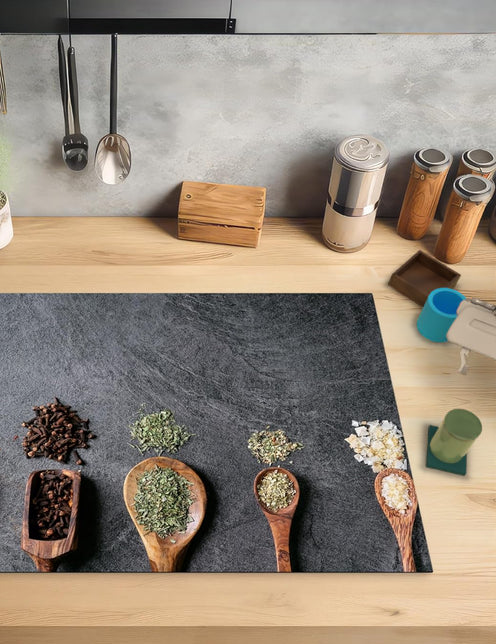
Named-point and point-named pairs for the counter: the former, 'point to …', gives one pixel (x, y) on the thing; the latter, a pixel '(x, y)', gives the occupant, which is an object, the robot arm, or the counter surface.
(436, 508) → the counter surface
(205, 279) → the counter surface
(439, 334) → the mug
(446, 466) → the mat
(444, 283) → the tray
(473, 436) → the green pot
